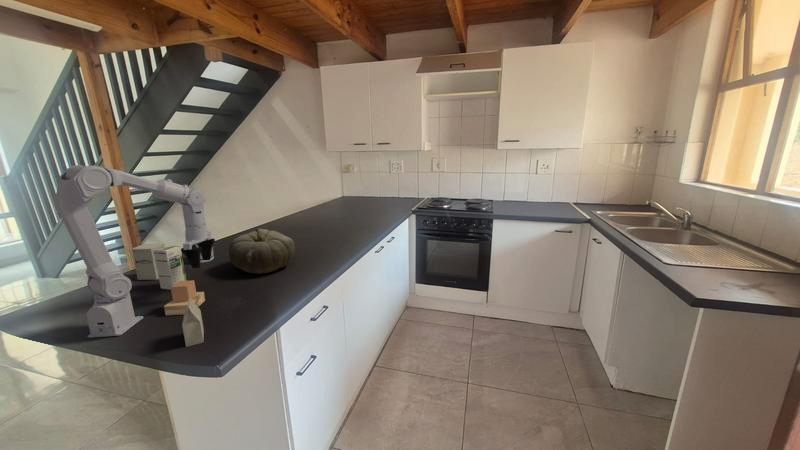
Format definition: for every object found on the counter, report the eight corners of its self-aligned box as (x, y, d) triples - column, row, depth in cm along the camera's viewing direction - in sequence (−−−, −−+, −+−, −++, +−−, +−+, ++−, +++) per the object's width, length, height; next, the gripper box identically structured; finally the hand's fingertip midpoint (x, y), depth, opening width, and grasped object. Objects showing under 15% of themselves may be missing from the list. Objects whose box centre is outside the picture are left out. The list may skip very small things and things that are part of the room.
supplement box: (137, 280, 119) (130, 248, 116) (151, 273, 126) (145, 243, 124) (156, 280, 119) (150, 248, 117) (170, 272, 127) (164, 242, 124)
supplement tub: (188, 265, 134) (182, 232, 131) (190, 259, 142) (185, 227, 139) (214, 262, 139) (209, 229, 135) (215, 256, 147) (210, 225, 144)
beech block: (191, 313, 94) (189, 304, 93) (165, 315, 93) (163, 306, 93) (205, 300, 103) (203, 291, 102) (182, 301, 102) (180, 293, 101)
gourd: (263, 249, 148) (261, 214, 141) (308, 263, 141) (308, 227, 134) (217, 273, 126) (212, 233, 119) (268, 291, 119) (265, 250, 112)
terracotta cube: (189, 301, 96) (186, 286, 94) (173, 302, 95) (170, 287, 94) (196, 294, 100) (194, 280, 99) (181, 295, 99) (178, 281, 98)
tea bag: (203, 329, 86) (198, 296, 84) (203, 342, 80) (197, 306, 78) (187, 333, 84) (181, 299, 82) (186, 346, 78) (179, 310, 76)
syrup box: (173, 290, 111) (166, 250, 107) (160, 288, 112) (152, 249, 108) (187, 283, 116) (181, 246, 113) (174, 282, 117) (167, 245, 114)
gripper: (197, 229, 97) (204, 270, 100) (218, 219, 111) (223, 256, 114) (173, 230, 96) (180, 272, 99) (196, 220, 110) (202, 257, 113)
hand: (201, 263), depth 106 cm, fingers open, 7 cm apart
